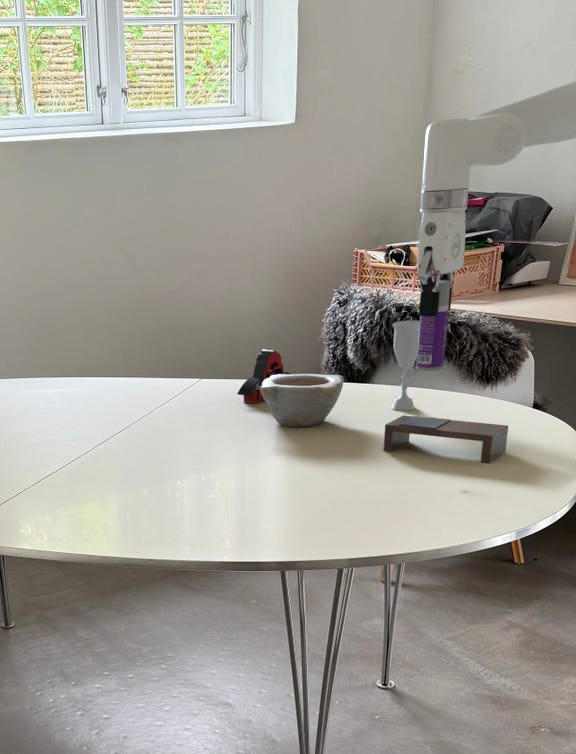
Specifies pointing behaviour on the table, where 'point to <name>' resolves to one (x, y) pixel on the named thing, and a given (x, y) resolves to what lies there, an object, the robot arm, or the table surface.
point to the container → (434, 333)
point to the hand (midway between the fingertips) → (434, 312)
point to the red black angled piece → (261, 375)
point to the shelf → (448, 433)
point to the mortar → (301, 397)
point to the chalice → (405, 357)
